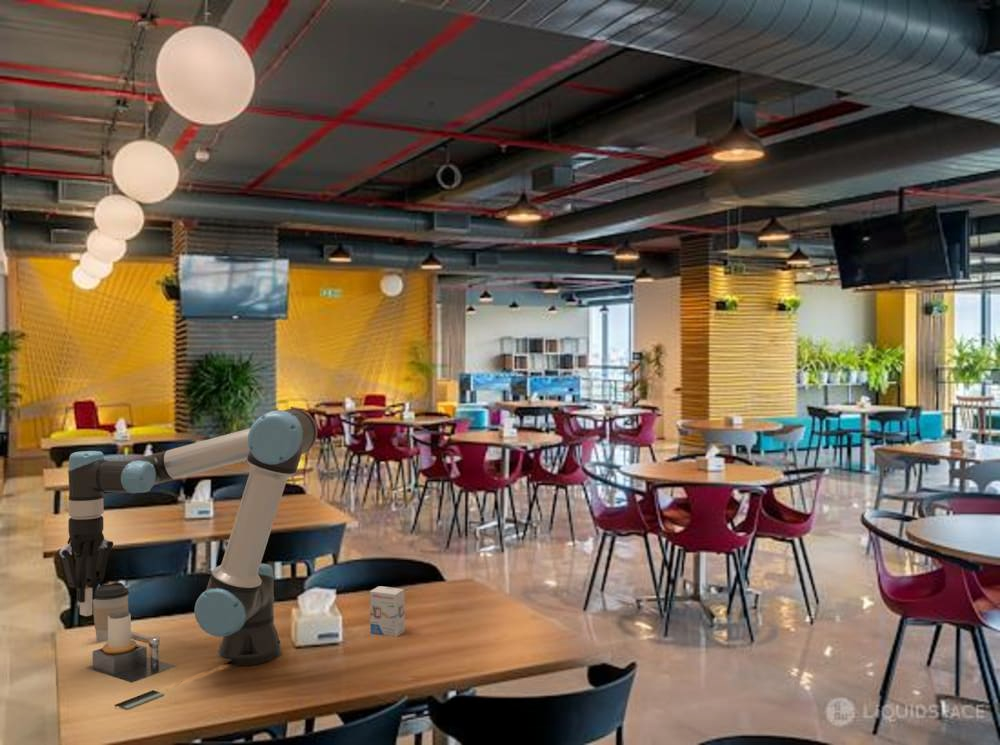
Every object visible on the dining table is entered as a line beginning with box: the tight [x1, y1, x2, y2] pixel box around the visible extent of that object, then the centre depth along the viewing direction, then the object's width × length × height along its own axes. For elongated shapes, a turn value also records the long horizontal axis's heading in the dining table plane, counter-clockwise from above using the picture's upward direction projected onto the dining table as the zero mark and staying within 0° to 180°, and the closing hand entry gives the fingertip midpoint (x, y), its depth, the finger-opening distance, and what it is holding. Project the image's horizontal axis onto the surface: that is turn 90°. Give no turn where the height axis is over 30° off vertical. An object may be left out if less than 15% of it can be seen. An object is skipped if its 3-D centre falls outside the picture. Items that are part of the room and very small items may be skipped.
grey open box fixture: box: [85, 643, 178, 684], centre depth 200 cm, size 18×12×7 cm, turn 58°
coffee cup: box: [92, 581, 130, 644], centre depth 223 cm, size 9×9×15 cm
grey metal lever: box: [131, 631, 161, 647], centre depth 204 cm, size 18×2×2 cm, turn 58°
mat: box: [114, 689, 165, 710], centre depth 185 cm, size 9×9×1 cm
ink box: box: [369, 585, 406, 637], centre depth 229 cm, size 9×5×12 cm, turn 68°
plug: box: [102, 609, 137, 656], centre depth 201 cm, size 7×7×13 cm
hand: (86, 614), depth 201 cm, fingers closed
